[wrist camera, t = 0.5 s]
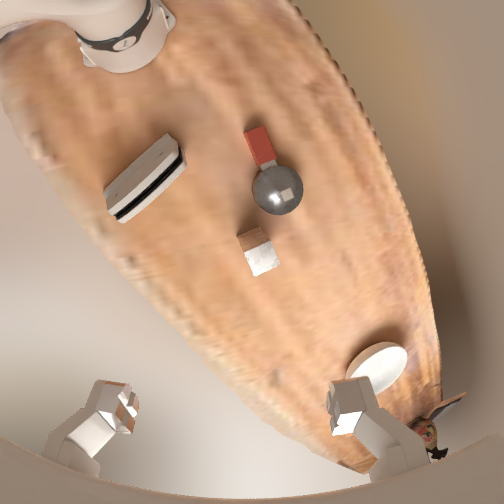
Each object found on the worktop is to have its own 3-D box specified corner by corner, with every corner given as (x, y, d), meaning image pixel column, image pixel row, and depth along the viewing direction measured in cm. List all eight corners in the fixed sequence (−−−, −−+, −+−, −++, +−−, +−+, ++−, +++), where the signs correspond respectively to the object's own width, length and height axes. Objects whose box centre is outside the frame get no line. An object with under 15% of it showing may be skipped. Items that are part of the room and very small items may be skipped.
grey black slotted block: (168, 131, 46) (176, 143, 39) (184, 149, 49) (194, 165, 42) (101, 191, 47) (97, 216, 40) (118, 207, 50) (117, 234, 43)
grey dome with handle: (229, 138, 49) (234, 137, 42) (274, 121, 49) (286, 117, 42) (262, 218, 55) (272, 229, 48) (303, 200, 55) (319, 208, 48)
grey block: (236, 236, 55) (243, 252, 47) (259, 226, 55) (270, 240, 47) (245, 257, 57) (254, 276, 49) (267, 247, 57) (280, 264, 49)
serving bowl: (325, 385, 76) (334, 401, 70) (360, 329, 71) (372, 344, 64) (373, 385, 82) (383, 398, 76) (406, 335, 77) (419, 347, 70)
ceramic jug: (427, 407, 103) (458, 447, 75) (424, 420, 109) (451, 458, 81) (399, 425, 102) (428, 469, 74) (397, 437, 108) (423, 477, 80)
